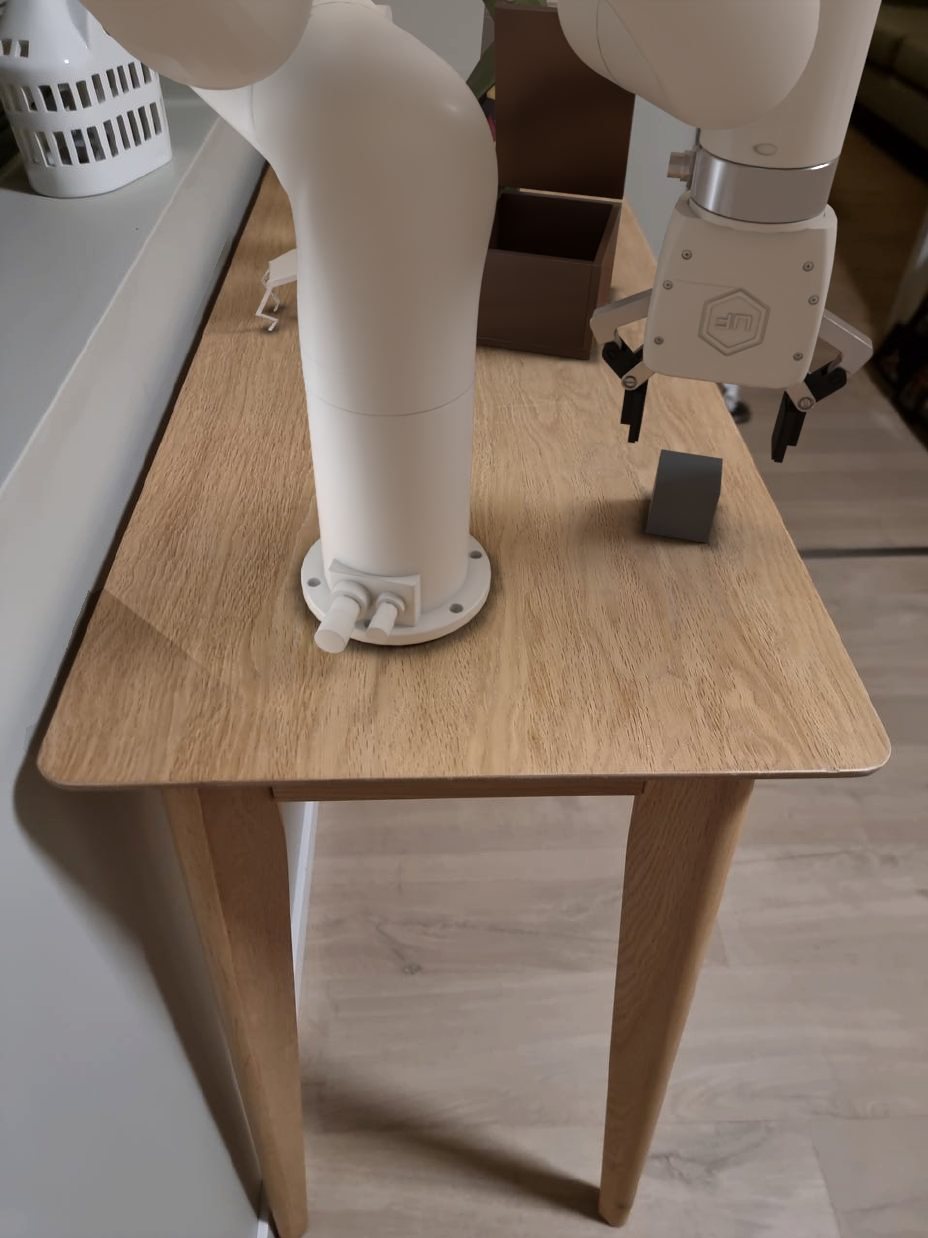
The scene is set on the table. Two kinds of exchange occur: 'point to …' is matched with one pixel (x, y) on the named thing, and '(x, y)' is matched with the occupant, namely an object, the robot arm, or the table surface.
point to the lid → (555, 110)
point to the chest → (546, 272)
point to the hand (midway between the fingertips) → (704, 441)
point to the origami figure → (278, 279)
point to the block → (685, 496)
